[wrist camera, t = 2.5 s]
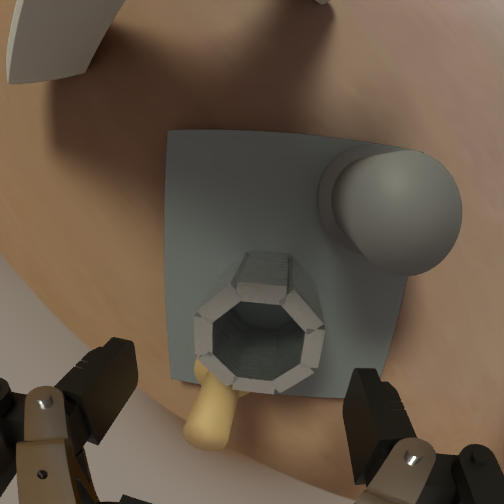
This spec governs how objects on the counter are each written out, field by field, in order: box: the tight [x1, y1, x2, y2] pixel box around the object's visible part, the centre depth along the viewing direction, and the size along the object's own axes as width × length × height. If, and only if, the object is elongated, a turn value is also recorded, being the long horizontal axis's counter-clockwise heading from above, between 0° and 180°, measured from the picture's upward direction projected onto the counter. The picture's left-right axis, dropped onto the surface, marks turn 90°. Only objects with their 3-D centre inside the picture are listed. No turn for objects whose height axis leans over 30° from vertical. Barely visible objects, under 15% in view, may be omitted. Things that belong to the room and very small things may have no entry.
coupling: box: [194, 250, 325, 394], centre depth 15 cm, size 5×5×5 cm
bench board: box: [164, 130, 462, 451], centre depth 14 cm, size 14×16×8 cm
